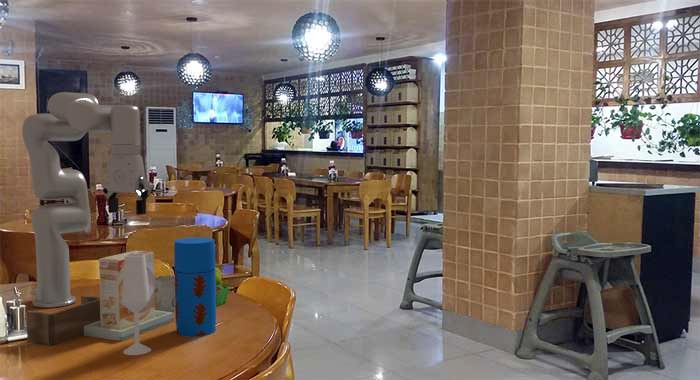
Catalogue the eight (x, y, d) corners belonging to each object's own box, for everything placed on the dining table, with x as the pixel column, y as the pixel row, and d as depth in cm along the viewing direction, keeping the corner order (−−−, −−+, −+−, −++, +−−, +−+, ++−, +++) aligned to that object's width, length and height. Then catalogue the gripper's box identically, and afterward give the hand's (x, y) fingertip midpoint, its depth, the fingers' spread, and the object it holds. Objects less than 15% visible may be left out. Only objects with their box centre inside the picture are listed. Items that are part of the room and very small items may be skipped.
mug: (172, 314, 201) (171, 281, 200) (133, 312, 203) (133, 279, 202) (184, 307, 209) (184, 275, 208) (147, 305, 211) (146, 274, 210)
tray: (83, 335, 179) (83, 326, 179) (137, 316, 199) (137, 307, 198) (121, 341, 174) (121, 331, 174) (173, 321, 193) (173, 312, 193)
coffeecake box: (120, 332, 178) (118, 260, 177) (99, 329, 181) (97, 258, 179) (156, 318, 192) (155, 251, 191) (136, 316, 195) (134, 249, 193)
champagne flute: (124, 356, 162) (121, 258, 160) (121, 348, 168) (119, 253, 166) (152, 353, 165) (150, 256, 163) (149, 345, 171) (147, 252, 169)
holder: (27, 341, 174) (26, 311, 173) (84, 322, 191) (83, 295, 191) (51, 345, 170) (50, 314, 170) (107, 326, 188) (106, 298, 187)
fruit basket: (187, 304, 213) (187, 269, 212) (203, 298, 221) (203, 264, 220) (218, 307, 209) (217, 271, 208) (233, 301, 217) (233, 266, 216)
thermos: (180, 338, 176) (179, 244, 174) (171, 328, 186) (170, 239, 184) (221, 333, 181) (220, 241, 179) (210, 323, 191) (209, 236, 189)
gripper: (91, 150, 183) (92, 213, 184) (141, 151, 176) (142, 216, 177) (111, 150, 189) (112, 210, 191) (160, 151, 183) (161, 213, 184)
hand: (127, 213), depth 184 cm, fingers open, 9 cm apart
